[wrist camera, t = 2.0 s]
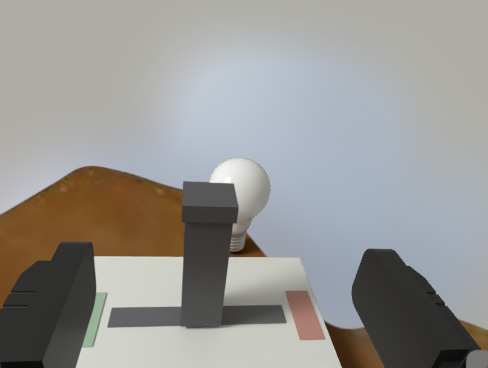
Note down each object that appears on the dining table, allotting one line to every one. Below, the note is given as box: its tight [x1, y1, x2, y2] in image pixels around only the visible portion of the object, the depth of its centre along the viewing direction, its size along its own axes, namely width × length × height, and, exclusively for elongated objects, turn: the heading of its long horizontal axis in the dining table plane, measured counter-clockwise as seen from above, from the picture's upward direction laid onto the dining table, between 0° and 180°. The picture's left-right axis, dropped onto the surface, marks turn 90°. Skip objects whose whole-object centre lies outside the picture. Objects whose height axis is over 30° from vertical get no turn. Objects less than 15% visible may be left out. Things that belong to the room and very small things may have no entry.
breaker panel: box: [76, 256, 342, 368], centre depth 29 cm, size 20×14×3 cm
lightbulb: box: [209, 158, 270, 252], centre depth 39 cm, size 6×6×11 cm
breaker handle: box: [180, 182, 239, 327], centre depth 26 cm, size 3×3×11 cm
